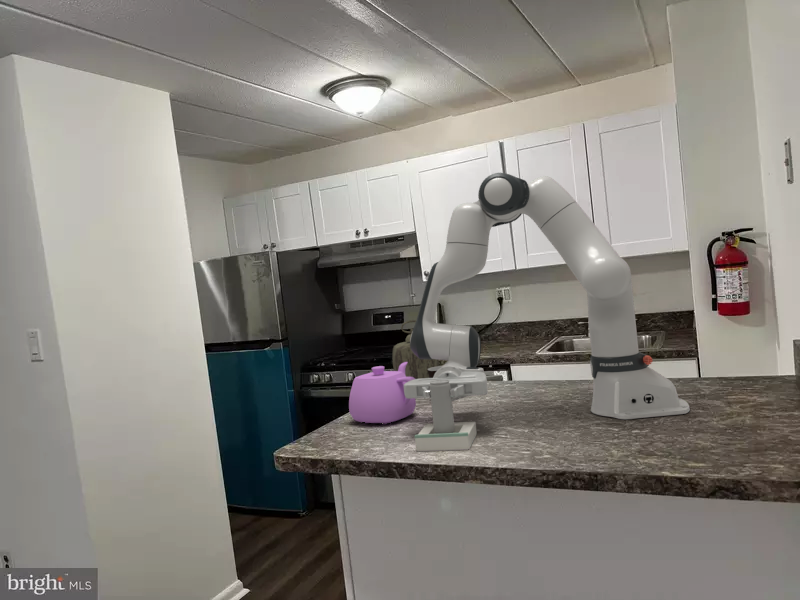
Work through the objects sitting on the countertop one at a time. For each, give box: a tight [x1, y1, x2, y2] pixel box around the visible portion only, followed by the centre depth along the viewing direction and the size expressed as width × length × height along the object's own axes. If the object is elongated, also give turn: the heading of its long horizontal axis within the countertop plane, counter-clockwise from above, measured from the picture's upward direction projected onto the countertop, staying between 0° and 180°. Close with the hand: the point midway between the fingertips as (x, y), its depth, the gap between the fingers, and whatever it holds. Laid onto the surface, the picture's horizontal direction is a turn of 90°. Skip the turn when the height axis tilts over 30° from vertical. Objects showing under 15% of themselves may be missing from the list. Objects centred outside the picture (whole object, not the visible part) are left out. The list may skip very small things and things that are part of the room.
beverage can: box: [430, 380, 455, 434], centre depth 134 cm, size 5×5×12 cm
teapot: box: [348, 362, 417, 425], centre depth 166 cm, size 23×21×15 cm
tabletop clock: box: [391, 319, 440, 379], centre depth 193 cm, size 14×9×25 cm, turn 98°
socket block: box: [414, 421, 478, 452], centre depth 134 cm, size 12×12×4 cm
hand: (439, 394), depth 133 cm, fingers closed on beverage can, 5 cm apart
